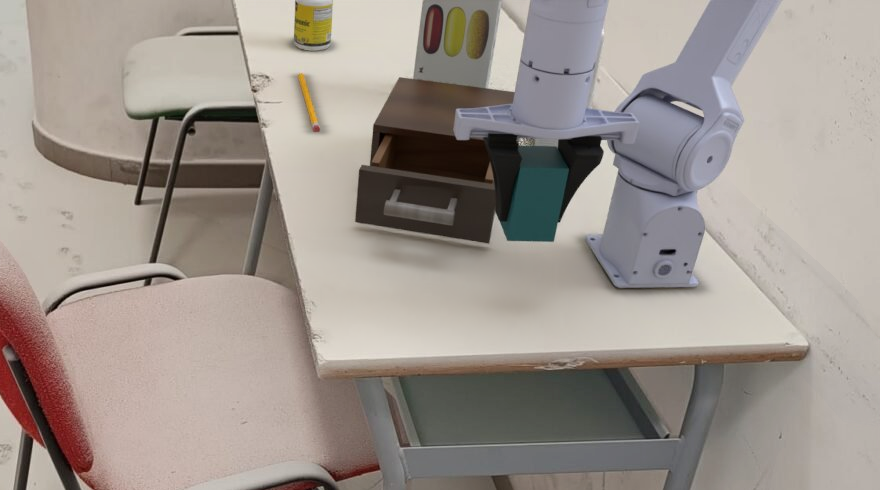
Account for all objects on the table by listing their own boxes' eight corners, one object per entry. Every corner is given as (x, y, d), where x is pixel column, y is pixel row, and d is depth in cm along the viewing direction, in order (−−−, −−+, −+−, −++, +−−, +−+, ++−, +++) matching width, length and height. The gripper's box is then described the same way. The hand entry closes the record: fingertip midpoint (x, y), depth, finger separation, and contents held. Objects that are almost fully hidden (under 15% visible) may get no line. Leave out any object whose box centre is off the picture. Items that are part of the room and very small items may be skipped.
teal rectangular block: (553, 242, 86) (569, 168, 82) (507, 241, 85) (520, 167, 82) (542, 217, 89) (556, 146, 85) (497, 216, 89) (509, 145, 85)
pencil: (313, 132, 122) (313, 127, 121) (298, 78, 137) (298, 73, 136) (320, 132, 122) (320, 127, 121) (303, 78, 137) (304, 73, 136)
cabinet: (503, 211, 106) (515, 144, 102) (367, 190, 109) (373, 124, 105) (516, 155, 118) (527, 93, 113) (393, 138, 121) (399, 76, 116)
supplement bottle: (287, 41, 148) (289, -27, 143) (320, 37, 150) (323, -31, 145) (303, 53, 144) (306, -17, 139) (337, 49, 146) (341, -20, 141)
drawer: (483, 265, 95) (493, 210, 92) (345, 242, 98) (349, 188, 94) (503, 185, 109) (511, 135, 106) (381, 167, 112) (386, 117, 109)
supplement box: (407, 108, 128) (422, -28, 119) (417, 83, 136) (431, -47, 126) (483, 117, 127) (504, -20, 117) (488, 91, 134) (508, -40, 124)
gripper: (634, 47, 82) (599, 197, 90) (457, 42, 82) (437, 193, 90) (661, 78, 77) (621, 235, 84) (471, 73, 76) (449, 231, 84)
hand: (527, 216), depth 87 cm, fingers closed on teal rectangular block, 4 cm apart
